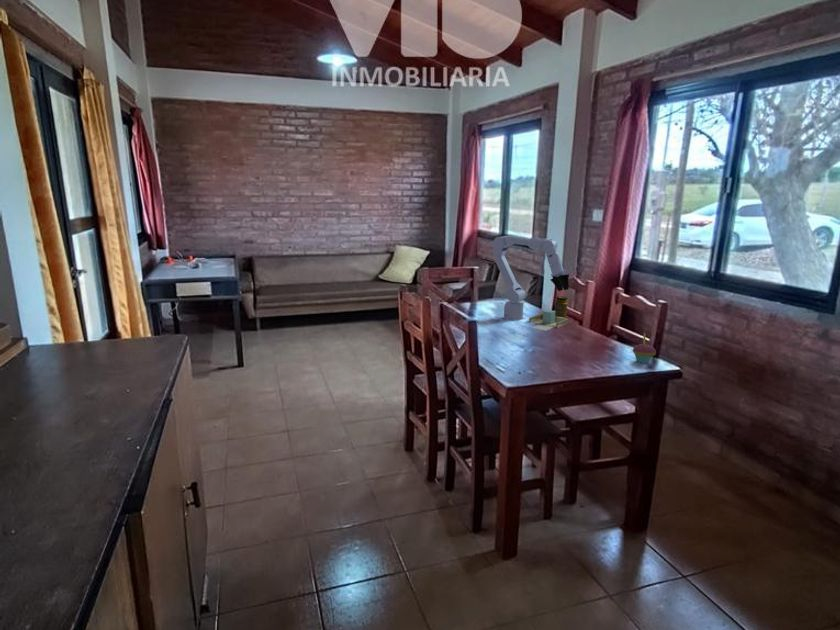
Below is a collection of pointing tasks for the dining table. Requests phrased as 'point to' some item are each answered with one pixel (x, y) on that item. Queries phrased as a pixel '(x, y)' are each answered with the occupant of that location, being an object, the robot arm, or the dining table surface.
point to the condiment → (561, 306)
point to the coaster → (542, 327)
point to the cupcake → (644, 352)
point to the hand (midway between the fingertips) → (563, 290)
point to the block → (548, 317)
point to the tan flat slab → (558, 323)
